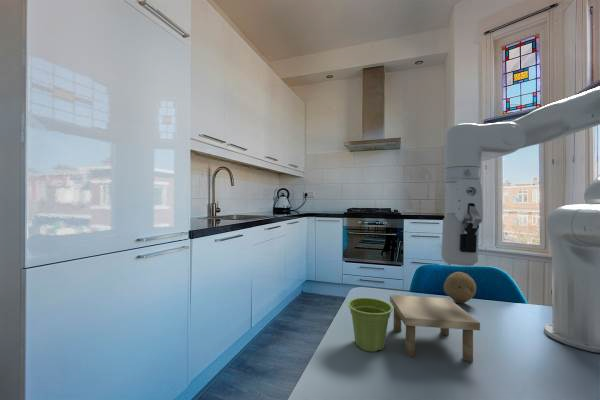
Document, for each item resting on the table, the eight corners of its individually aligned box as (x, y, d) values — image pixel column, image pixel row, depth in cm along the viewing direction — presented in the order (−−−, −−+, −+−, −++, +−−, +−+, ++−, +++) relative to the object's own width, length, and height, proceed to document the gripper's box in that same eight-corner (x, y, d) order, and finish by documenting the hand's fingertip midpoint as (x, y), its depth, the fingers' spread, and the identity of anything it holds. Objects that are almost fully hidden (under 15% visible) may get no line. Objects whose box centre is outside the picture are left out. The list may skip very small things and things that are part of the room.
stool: (448, 331, 65) (448, 298, 66) (479, 364, 52) (479, 322, 52) (389, 327, 67) (390, 295, 67) (404, 358, 53) (405, 317, 53)
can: (483, 268, 60) (485, 214, 60) (446, 264, 61) (448, 212, 62) (470, 261, 67) (471, 213, 67) (437, 258, 69) (439, 212, 69)
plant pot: (391, 361, 52) (392, 316, 52) (343, 351, 55) (344, 309, 56) (392, 339, 61) (393, 300, 61) (351, 331, 64) (351, 295, 64)
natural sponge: (478, 311, 79) (479, 277, 79) (444, 305, 83) (444, 273, 83) (474, 301, 87) (474, 270, 87) (443, 297, 91) (443, 267, 91)
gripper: (500, 172, 55) (498, 257, 55) (462, 180, 73) (459, 245, 72) (462, 171, 57) (459, 254, 56) (433, 179, 74) (430, 243, 73)
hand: (459, 248), depth 64 cm, fingers closed on can, 7 cm apart
